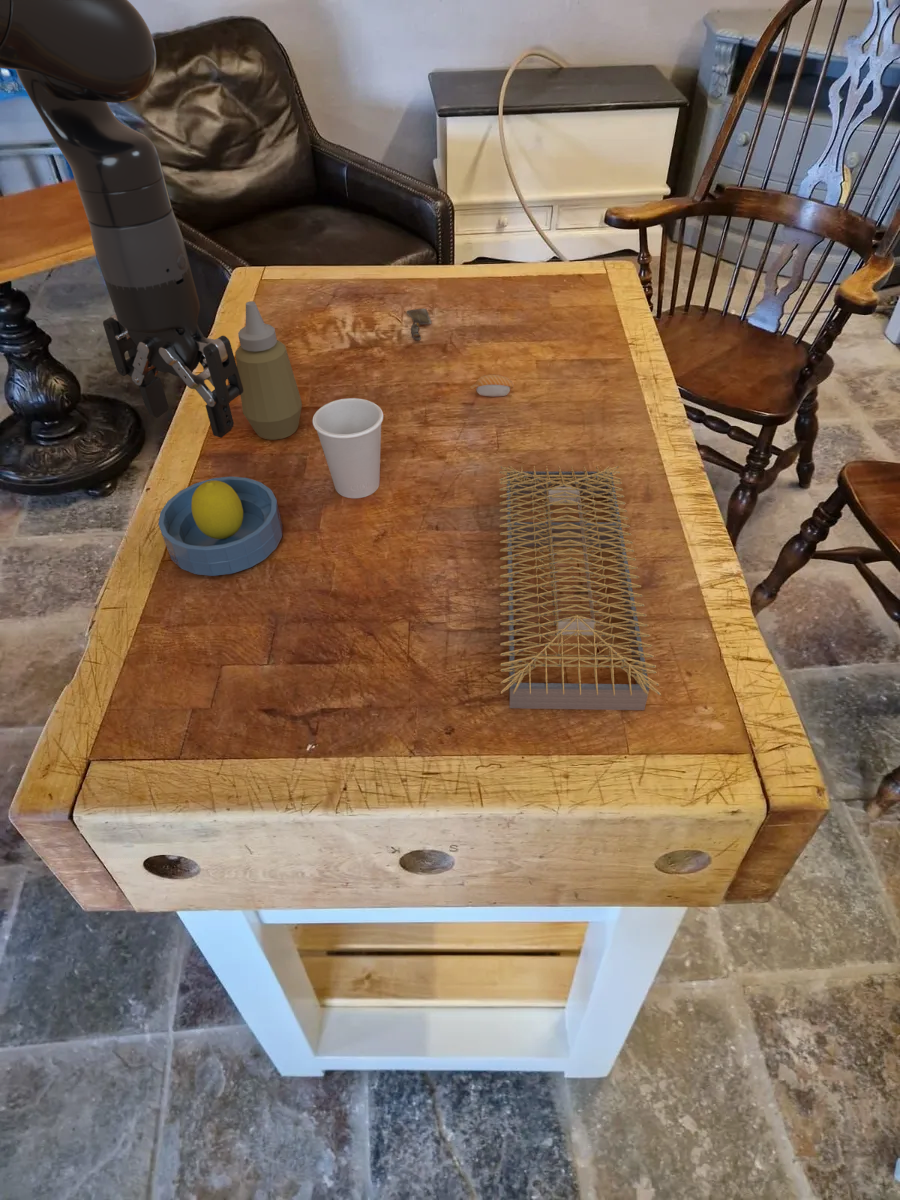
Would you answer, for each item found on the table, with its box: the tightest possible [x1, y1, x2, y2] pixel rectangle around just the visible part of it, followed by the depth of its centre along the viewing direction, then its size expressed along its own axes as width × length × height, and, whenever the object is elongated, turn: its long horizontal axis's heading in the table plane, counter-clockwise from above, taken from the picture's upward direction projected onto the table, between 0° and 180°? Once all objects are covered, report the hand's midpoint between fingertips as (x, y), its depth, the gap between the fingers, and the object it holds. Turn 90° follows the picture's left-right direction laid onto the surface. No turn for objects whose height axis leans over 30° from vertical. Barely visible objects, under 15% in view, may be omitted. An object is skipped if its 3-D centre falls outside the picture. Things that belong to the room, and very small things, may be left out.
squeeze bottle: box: [234, 300, 303, 441], centre depth 104 cm, size 8×8×18 cm
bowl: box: [157, 475, 283, 577], centre depth 92 cm, size 13×13×4 cm
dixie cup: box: [312, 397, 384, 499], centre depth 98 cm, size 8×8×10 cm
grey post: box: [406, 308, 433, 342], centre depth 131 cm, size 12×1×5 cm
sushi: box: [469, 373, 515, 397], centre depth 115 cm, size 3×6×3 cm, turn 88°
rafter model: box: [499, 465, 662, 711], centre depth 85 cm, size 35×14×6 cm, turn 178°
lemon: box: [191, 481, 243, 539], centre depth 91 cm, size 6×6×8 cm
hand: (191, 423), depth 83 cm, fingers open, 8 cm apart
